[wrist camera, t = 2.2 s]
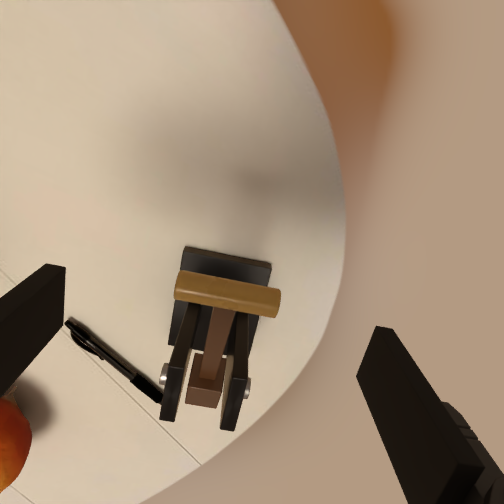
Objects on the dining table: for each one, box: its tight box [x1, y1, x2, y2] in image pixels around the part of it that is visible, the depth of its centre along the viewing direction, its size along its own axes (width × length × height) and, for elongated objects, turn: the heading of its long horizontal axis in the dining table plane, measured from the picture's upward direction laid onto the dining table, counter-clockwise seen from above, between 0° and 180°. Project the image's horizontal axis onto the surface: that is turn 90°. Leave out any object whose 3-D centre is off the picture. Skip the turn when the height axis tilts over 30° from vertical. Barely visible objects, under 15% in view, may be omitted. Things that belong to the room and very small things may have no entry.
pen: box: [64, 320, 163, 405], centre depth 37 cm, size 14×2×1 cm, turn 41°
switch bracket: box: [159, 247, 272, 431], centre depth 29 cm, size 10×8×13 cm
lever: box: [174, 270, 281, 408], centre depth 22 cm, size 12×5×2 cm, turn 167°
